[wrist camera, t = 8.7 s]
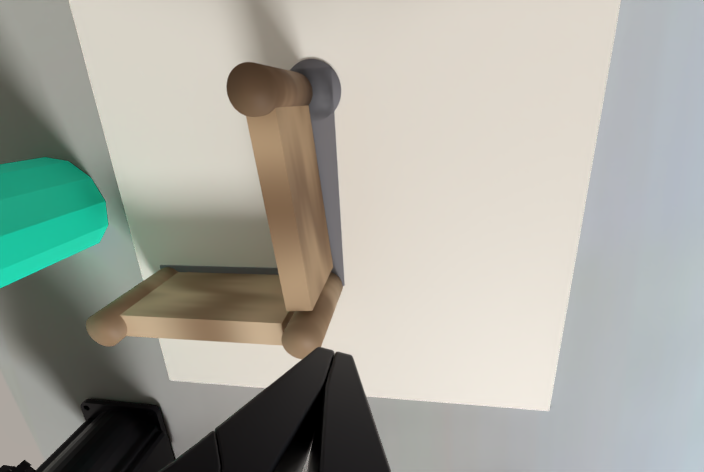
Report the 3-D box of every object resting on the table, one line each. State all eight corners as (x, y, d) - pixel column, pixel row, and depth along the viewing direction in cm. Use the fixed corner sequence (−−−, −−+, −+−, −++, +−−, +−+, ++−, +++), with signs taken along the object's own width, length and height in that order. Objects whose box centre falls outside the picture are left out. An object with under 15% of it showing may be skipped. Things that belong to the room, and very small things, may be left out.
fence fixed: (161, 291, 24) (91, 345, 18) (155, 266, 23) (81, 314, 18) (343, 298, 22) (322, 360, 17) (341, 270, 21) (319, 326, 16)
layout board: (174, 375, 27) (168, 381, 26) (72, -15, 18) (62, -19, 18) (546, 404, 23) (549, 412, 22) (628, -79, 14) (636, -86, 14)
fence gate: (338, 266, 21) (315, 316, 16) (307, 268, 21) (276, 317, 16) (309, 69, 17) (269, 57, 12) (272, 74, 18) (221, 65, 13)
